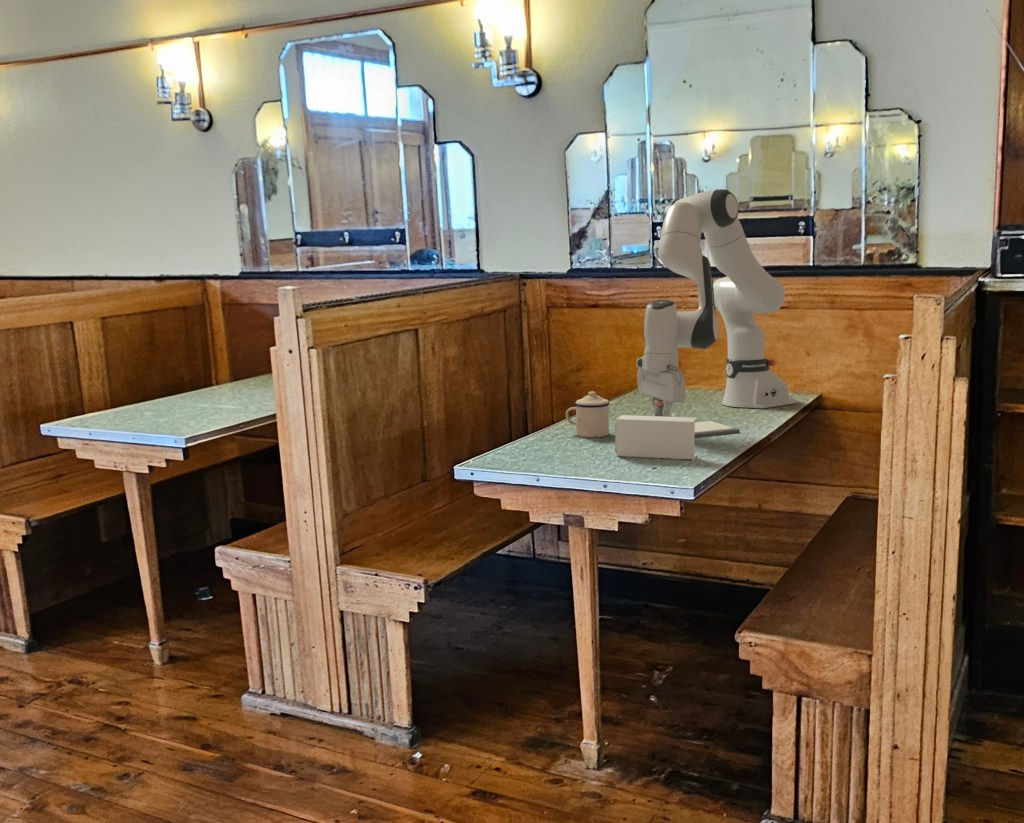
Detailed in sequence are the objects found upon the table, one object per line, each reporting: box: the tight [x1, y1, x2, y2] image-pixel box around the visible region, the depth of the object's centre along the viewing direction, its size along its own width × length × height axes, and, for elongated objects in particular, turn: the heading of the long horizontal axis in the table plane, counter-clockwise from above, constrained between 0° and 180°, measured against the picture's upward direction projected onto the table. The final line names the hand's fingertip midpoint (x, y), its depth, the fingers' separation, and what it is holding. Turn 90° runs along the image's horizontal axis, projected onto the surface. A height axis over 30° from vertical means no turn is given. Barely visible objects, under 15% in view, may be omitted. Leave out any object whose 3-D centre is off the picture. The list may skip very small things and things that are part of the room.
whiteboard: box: [695, 420, 741, 438], centre depth 281 cm, size 25×14×1 cm, turn 110°
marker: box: [654, 399, 664, 417], centre depth 277 cm, size 4×4×8 cm
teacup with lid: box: [565, 391, 610, 439], centre depth 281 cm, size 12×9×12 cm
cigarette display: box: [614, 414, 698, 461], centre depth 253 cm, size 20×6×9 cm, turn 69°
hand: (661, 414), depth 277 cm, fingers closed on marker, 3 cm apart
